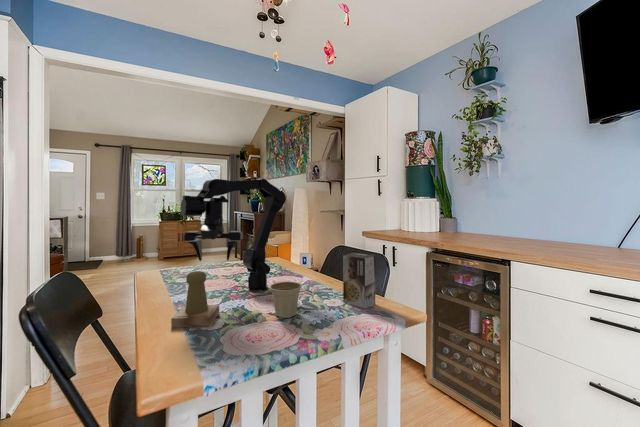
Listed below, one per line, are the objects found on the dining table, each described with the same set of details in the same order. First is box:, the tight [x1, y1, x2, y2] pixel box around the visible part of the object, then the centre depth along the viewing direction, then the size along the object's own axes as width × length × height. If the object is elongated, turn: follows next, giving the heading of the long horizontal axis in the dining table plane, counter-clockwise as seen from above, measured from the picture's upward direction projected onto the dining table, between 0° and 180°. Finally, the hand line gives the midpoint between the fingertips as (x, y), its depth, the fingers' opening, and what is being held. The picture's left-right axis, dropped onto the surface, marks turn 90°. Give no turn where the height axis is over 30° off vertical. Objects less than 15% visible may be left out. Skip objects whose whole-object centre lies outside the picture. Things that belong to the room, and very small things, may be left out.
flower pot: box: [269, 281, 302, 319], centre depth 90 cm, size 9×9×9 cm
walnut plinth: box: [170, 304, 220, 329], centre depth 85 cm, size 10×10×3 cm
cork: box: [185, 270, 209, 314], centre depth 85 cm, size 6×6×11 cm
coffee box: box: [342, 252, 376, 309], centre depth 100 cm, size 9×6×16 cm
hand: (214, 260), depth 105 cm, fingers open, 9 cm apart
